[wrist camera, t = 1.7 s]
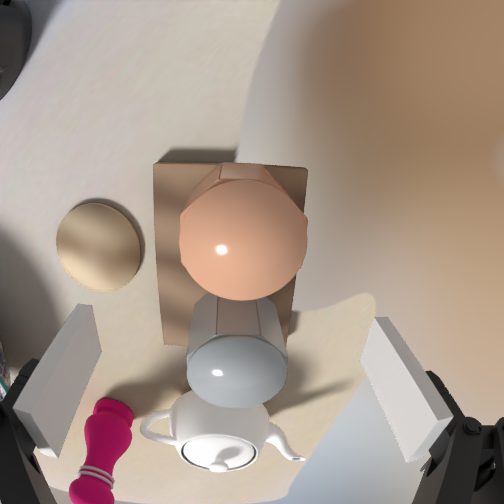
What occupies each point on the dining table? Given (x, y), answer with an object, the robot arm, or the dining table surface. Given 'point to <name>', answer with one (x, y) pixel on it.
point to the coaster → (98, 247)
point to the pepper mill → (102, 452)
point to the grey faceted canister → (236, 351)
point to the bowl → (3, 374)
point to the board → (168, 250)
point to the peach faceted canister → (242, 233)
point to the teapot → (218, 433)
